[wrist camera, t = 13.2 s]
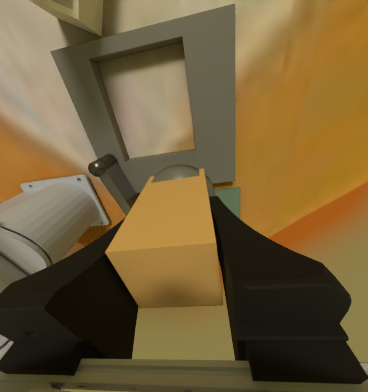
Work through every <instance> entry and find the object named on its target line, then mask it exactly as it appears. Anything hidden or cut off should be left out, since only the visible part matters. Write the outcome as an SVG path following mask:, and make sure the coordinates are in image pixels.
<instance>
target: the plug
mask: <svg viewBox="0 0 368 392" xmlns="http://www.w3.org/2000/svg"><path fill="white" fill-rule="evenodd" d="M211 196H216V194H215V190H214V187H213V184H212V182H211V180H210V179H209V177H208V176H207V175H206V174H205V173H204V169H198V168H195V167H193V166H190V165H182V164H179V165H172V166H169V167H166V168H164V169H162V170H161V171H159V172H158V173H157V174H156V175H155V176H151V177H150V178H149V180H148V182H147V183H146V185H145V187H144V188H143V190H142V192H141V193H140V195H139V197H138V198H137V200H136V202H135V203H134V205H133V207H132V208H131V210H130V212H129V213H128V215H127V217H126V218H125V220H124V222H123V223H122V225H121V227H120V228H119V230H118V232H117V233H116V235H115V237H114V238H113V240H112V242H111V243H110V245H109V247H108V248H107V250H106V252H105V253H106V255H107V256H108V258H109V259H110V261H111V263H112V264H113V266H114V268H115V269H116V271H117V272H118V274H119V276H120V277H121V279H122V280H123V282H124V284H125V285H126V287H127V288H128V290H129V292H130V293H131V295H132V297H133V298H134V300H135V301H136V303H137V305H138V306H139V308H159V307H187V306H188V307H189V306H216V305H223V300H222V291H221V282H220V273H219V263H218V254H217V245H216V238H215V232H214V226H213V220H212V214H211V208H210V202H209V197H211Z"/></svg>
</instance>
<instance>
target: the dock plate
mask: <svg viewBox="0 0 368 392" xmlns="http://www.w3.org/2000/svg"><path fill="white" fill-rule="evenodd" d="M179 42H183V46H184V54H185V62H186V70H187V78H188V87H189V95H190V103H191V111H192V120H193V128H194V136H195V144H196V149H191V150H185V151H178V152H171V153H165V154H158V155H151V156H145V157H138V158H132V159H129V157H128V154H127V151H126V148H125V145H124V142H123V139H122V136H121V133H120V131H119V128H118V125H117V122H116V119H115V116H114V113H113V110H112V107H111V104H110V101H109V98H108V95H107V92H106V89H105V86H104V83H103V81H102V78H101V75H100V72H99V69H98V66H97V63H96V62H99V61H103V60H108V59H112V58H116V57H120V56H124V55H129V54H133V53H137V52H141V51H145V50H149V49H154V48H158V47H162V46H166V45H170V44H174V43H179ZM50 52H51V54H52V56H53V58H54V61H55V63H56V65H57V68H58V70H59V72H60V74H61V77H62V79H63V81H64V83H65V86H66V88H67V90H68V93H69V95H70V97H71V99H72V102H73V104H74V106H75V108H76V111H77V113H78V115H79V118H80V120H81V122H82V124H83V127H84V129H85V131H86V133H87V136H88V138H89V140H90V142H91V145H92V147H93V149H94V152H95V154H96V156H97V158H98V159H99V158H101V157H103V156H104V155H106V154H112V155H113V156H115V158H116V160H117V165H118V167H119V168H120V170H121V171H122V173H123V175H124V176H125V178H126V179H127V181H128V183H129V184H130V186H131V187H132V189H133V191H134V192H135V193H140V192H142V190H143V188H144V187H145V185H146V183H147V182H148V180H149V178H150V177H151V176H155V175H156V174H157V173H158V172H159V171H161V170H162V169H164V168H166V167H169V166H172V165H179V164H182V165H190V166H193V167H195V168H198V169H204V173H205V174H206V175H207V176H208V177H209V179H210V180H211V182H212V184H214V183H223V182H231V181H235V4H231V5H228V6H224V7H220V8H216V9H212V10H208V11H204V12H200V13H197V14H193V15H189V16H185V17H181V18H177V19H173V20H170V21H166V22H162V23H158V24H154V25H150V26H146V27H143V28H139V29H135V30H131V31H127V32H123V33H119V34H116V35H112V36H108V37H104V38H100V39H96V40H92V41H89V42H85V43H81V44H77V45H73V46H69V47H65V48H62V49H58V50H54V51H50Z"/></svg>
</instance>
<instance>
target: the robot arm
mask: <svg viewBox="0 0 368 392" xmlns="http://www.w3.org/2000/svg"><path fill="white" fill-rule="evenodd" d="M79 178H80V179H81V180H80V179H79ZM21 188H22V189H23V191H24V192H23V193H21V194H19V195H17V196H15V197H13V198H11V199H9V200H7V201H5V202H3V203H1V204H0V392H69V391H63V390H61V389H83V390H106V391H107V390H108V391H129V392H368V362H359V361H358V360H357V358H356V357H355V355H354V354H353V352H352V351H351V349H350V347H349V346H348V345H347V343H346V341H348V336H347V334H346V333H345V331H344V330H343V328H342V327H341V325H340V324H339V323H340V322H341V320H342V319H343V317H344V316H345V314H346V313H347V311H348V310H349V307H350V305H351V297H350V294H349V293H348V292H347V291H346V290H345V288H344V287H343V286H342V285H341V283H340V282H339V281H338V280H337V279H336V277H335V276H334V275H333V274H332V273H331V272H330V271H329V270H328V269H327V268H326V267H325V266H324V265H323V264H322V263H321V262H318V261H316V260H313V259H311V258H309V257H306V256H304V255H301V254H299V253H296V252H294V251H292V250H289V249H288V248H286V247H284V246H282V245H280V244H277V243H276V242H274V241H272V240H270V239H268V238H267V237H265V236H263V235H261V234H260V233H258V232H257V231H255V230H253V229H252V228H251V227H249V226H248V225H247V224H245V223H244V222H243V221H241V220H240V219H239V218H238V217H237V216H236V215H235V214H234V213H233V212H231V211H230V210H229V209H228V208H227V206H226V205H225V204H224V203H223V202H222V201H221V199H220V198H219V197H218V196H211V197H209V202H210V208H211V214H212V220H213V226H214V232H215V238H216V245H217V254H218V258H219V262H220V266H221V271H222V277H223V284H224V290H225V296H226V303H227V309H228V316H229V322H230V328H231V335H232V342H233V348H234V355H235V361H225V360H223V361H222V360H150V359H146V360H145V359H132V352H133V343H134V334H135V327H136V319H137V313H138V305H137V303H136V301H135V300H134V298H133V297H132V295H131V293H130V292H129V290H128V288H127V287H126V285H125V284H124V282H123V280H122V279H121V277H120V276H119V274H118V272H117V271H116V269H115V268H114V266H113V264H112V263H111V261H110V259H109V258H108V256H107V255H106V253H105V252H106V250H107V248H108V247H109V245H110V243H111V242H112V240H113V238H114V237H115V235H116V233H117V232H118V230H119V228H120V227H121V225H122V223H123V222H124V220H125V218H126V217H125V218H124V219H123V220H122V221H121V222H119V223H118V224H117V225H116V226H114V227H113V228H112V229H111V230H109V231H108V232H107V233H105V234H104V235H102V236H101V237H100V238H98V239H97V240H95V241H94V242H92V243H91V244H89V245H87V246H86V247H84V248H82V249H80V250H79V251H77V252H75V253H74V254H72V255H70V256H69V257H67V258H64V259H63V260H61V259H62V258H63V257H64V256H65V255H66V253H67V252H68V251H69V250H70V249H71V248H72V246H73V245H74V244H75V243H76V242H77V241H78V239H79V238H80V237H81V236H82V235H83V234H84V232H85V231H86V230H87V229H88V228H89V227H92V226H102V225H108V224H109V223H110V221H109V219H108V217H107V215H106V213H105V211H104V209H103V207H102V205H101V203H100V201H99V199H98V197H97V195H96V193H95V191H94V189H93V187H92V185H91V183H90V181H89V179H88V177H87V176H86V175H76V176H69V177H62V178H55V179H48V180H41V181H34V182H27V183H23V184H21ZM60 260H61V261H60Z"/></svg>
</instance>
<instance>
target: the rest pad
mask: <svg viewBox="0 0 368 392" xmlns="http://www.w3.org/2000/svg"><path fill="white" fill-rule="evenodd" d="M215 194H216V196H218V197H219V198H220V199H221V201H222V202H223V203H224V204H225V205H226V206H227V208H228V209H229V210H230V211H231V212H233V213H234V214H235V215H236V216H237V217H238V218H239V219H240V187H235V188H226V189H218V190H215Z"/></svg>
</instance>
